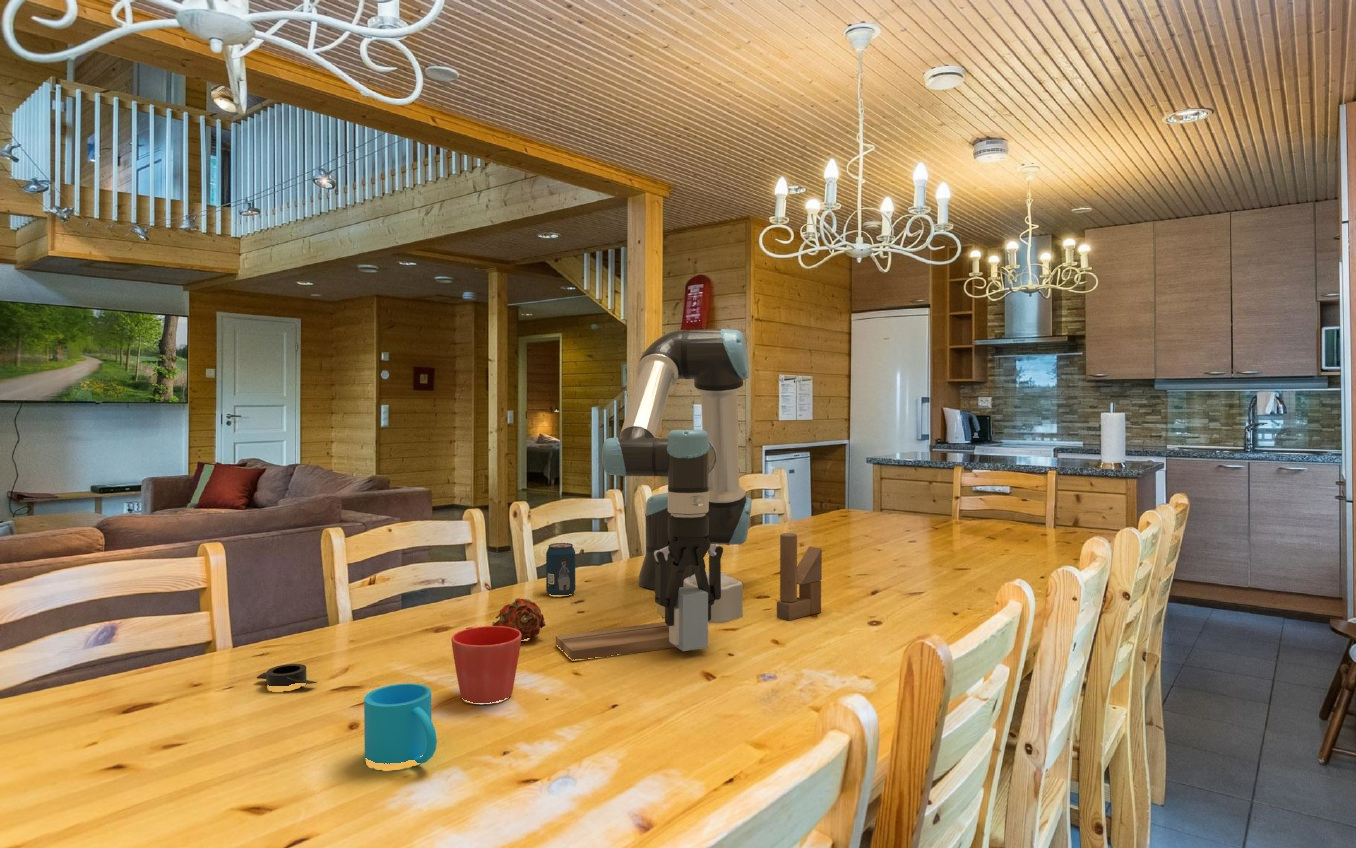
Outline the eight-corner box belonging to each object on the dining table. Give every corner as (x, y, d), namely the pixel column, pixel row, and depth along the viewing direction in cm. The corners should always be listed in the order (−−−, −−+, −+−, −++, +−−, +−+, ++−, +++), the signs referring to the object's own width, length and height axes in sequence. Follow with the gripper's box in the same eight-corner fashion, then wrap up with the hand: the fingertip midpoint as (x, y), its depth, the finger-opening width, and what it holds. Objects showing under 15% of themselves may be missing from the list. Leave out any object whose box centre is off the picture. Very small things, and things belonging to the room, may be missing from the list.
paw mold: (718, 625, 163) (719, 583, 163) (671, 614, 172) (671, 574, 172) (748, 615, 171) (748, 575, 171) (702, 605, 180) (702, 567, 179)
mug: (352, 759, 101) (351, 696, 101) (408, 738, 108) (408, 679, 107) (404, 788, 94) (404, 719, 93) (462, 763, 100) (462, 699, 100)
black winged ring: (265, 702, 121) (265, 683, 121) (254, 683, 129) (254, 666, 129) (319, 691, 126) (319, 673, 126) (305, 674, 134) (305, 657, 134)
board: (555, 646, 148) (555, 635, 148) (680, 629, 159) (680, 619, 159) (572, 662, 139) (572, 650, 139) (703, 643, 150) (703, 632, 150)
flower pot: (535, 688, 126) (534, 628, 126) (497, 714, 116) (497, 648, 116) (477, 681, 130) (477, 622, 130) (436, 705, 119) (436, 641, 119)
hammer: (649, 629, 155) (649, 578, 154) (672, 626, 157) (672, 576, 156) (683, 651, 141) (683, 595, 141) (707, 647, 143) (708, 592, 143)
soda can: (560, 590, 194) (560, 541, 194) (581, 594, 190) (581, 544, 190) (540, 595, 188) (539, 545, 188) (561, 599, 184) (561, 548, 184)
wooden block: (821, 612, 173) (822, 530, 172) (788, 621, 166) (789, 536, 165) (808, 609, 175) (809, 528, 175) (775, 618, 169) (776, 533, 168)
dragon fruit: (536, 655, 148) (502, 651, 156) (563, 621, 153) (529, 619, 162) (509, 623, 145) (476, 620, 154) (538, 590, 150) (505, 589, 159)
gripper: (651, 520, 137) (651, 653, 138) (741, 513, 145) (741, 640, 145) (634, 514, 144) (634, 641, 144) (721, 509, 151) (721, 629, 152)
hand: (688, 640), depth 145 cm, fingers closed on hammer, 5 cm apart
